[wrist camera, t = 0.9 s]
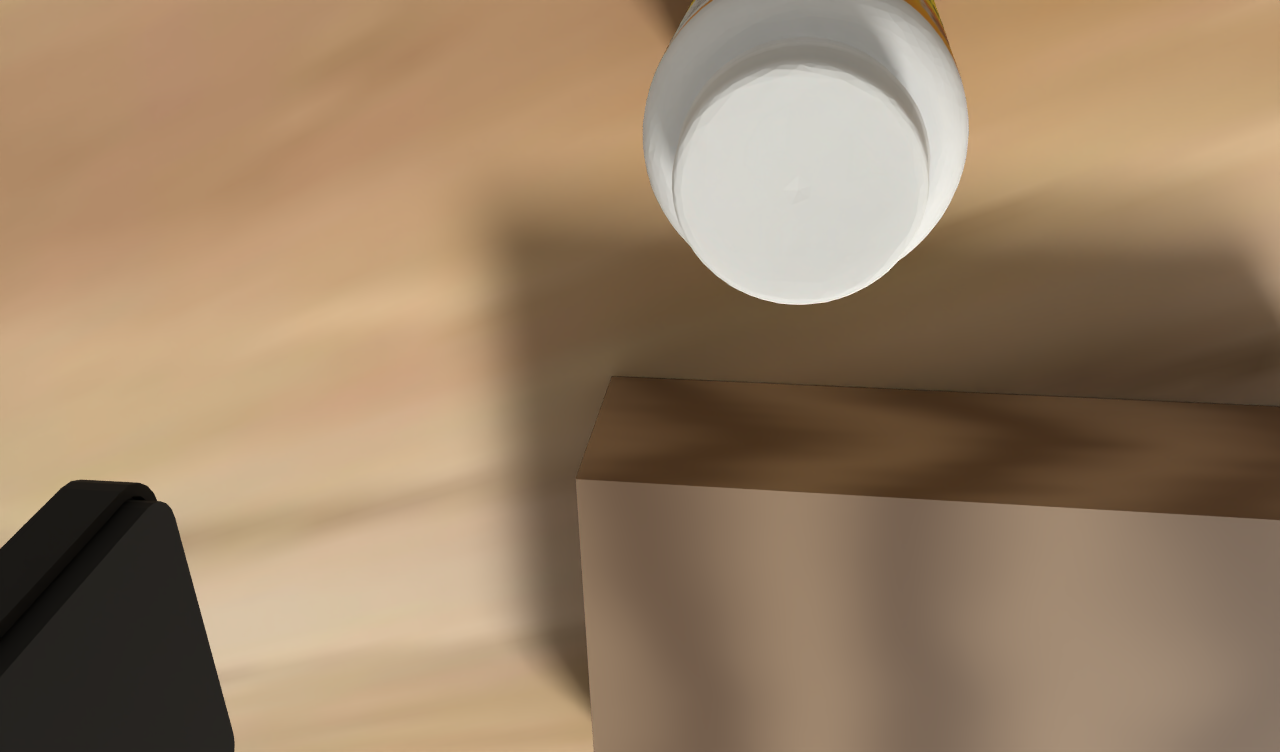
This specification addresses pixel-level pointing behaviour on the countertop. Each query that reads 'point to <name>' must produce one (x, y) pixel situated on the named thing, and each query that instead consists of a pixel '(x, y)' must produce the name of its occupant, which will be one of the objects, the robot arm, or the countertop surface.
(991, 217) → the countertop surface
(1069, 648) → the walnut riser
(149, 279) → the countertop surface
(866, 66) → the supplement bottle
